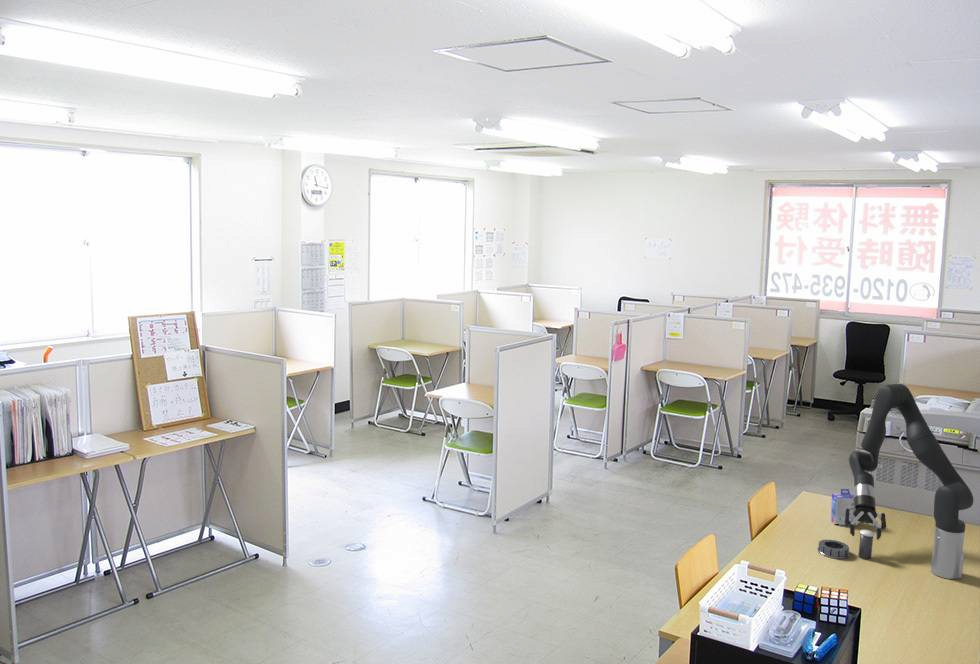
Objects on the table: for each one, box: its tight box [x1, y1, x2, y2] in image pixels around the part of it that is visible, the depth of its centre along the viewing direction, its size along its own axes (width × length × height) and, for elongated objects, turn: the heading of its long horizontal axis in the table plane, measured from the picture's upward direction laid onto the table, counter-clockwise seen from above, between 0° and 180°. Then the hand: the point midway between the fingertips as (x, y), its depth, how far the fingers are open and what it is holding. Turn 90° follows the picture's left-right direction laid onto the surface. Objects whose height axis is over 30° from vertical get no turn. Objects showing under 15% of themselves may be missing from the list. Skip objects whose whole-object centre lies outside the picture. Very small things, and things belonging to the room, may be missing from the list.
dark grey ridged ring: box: [817, 539, 850, 560], centre depth 298 cm, size 11×11×3 cm
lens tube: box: [857, 529, 875, 561], centre depth 294 cm, size 5×5×10 cm
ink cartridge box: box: [830, 488, 859, 526], centre depth 328 cm, size 10×6×14 cm, turn 89°
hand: (865, 537), depth 295 cm, fingers open, 8 cm apart
